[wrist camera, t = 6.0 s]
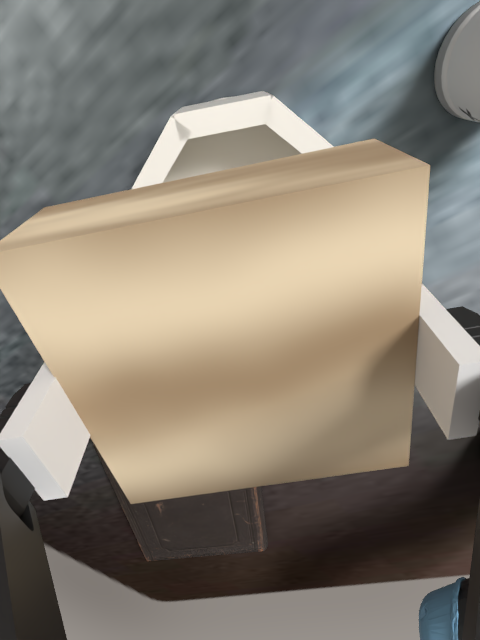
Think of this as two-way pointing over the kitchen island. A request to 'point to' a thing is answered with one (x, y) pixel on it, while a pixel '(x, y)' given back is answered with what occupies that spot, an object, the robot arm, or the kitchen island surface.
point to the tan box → (235, 318)
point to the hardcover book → (196, 523)
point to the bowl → (227, 138)
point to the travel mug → (460, 67)
